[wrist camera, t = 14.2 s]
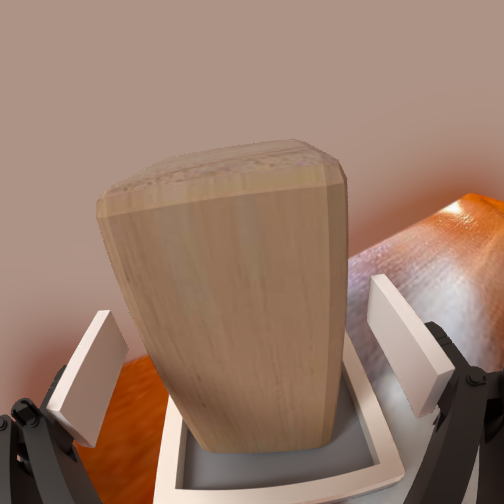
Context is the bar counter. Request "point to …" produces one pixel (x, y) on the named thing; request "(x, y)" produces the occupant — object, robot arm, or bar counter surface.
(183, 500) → the locating plate
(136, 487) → the bar counter surface
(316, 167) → the wooden block
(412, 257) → the bar counter surface
